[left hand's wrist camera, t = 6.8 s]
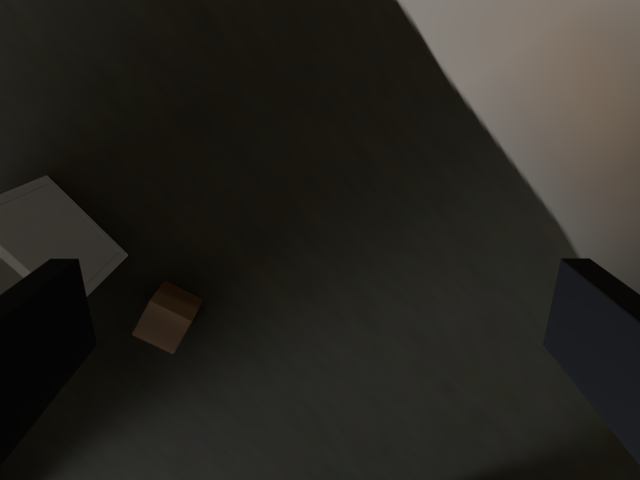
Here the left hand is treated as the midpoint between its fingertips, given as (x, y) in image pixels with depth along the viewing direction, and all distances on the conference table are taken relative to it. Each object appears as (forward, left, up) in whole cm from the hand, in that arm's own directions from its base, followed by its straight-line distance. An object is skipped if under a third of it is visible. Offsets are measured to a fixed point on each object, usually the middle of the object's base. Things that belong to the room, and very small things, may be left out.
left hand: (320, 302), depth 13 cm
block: (-16, +14, -28) cm, 35 cm away
